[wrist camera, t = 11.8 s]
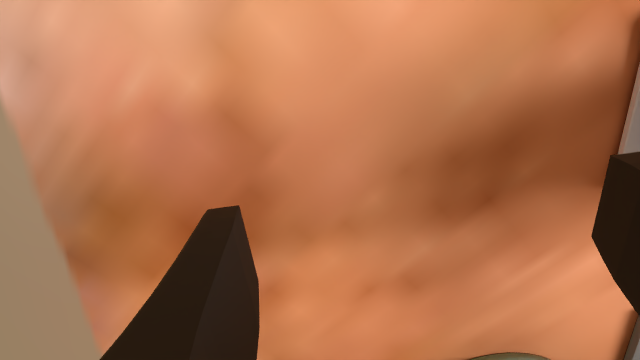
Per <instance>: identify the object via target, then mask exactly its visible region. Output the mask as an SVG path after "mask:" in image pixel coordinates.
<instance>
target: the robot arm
mask: <svg viewBox="0 0 640 360" xmlns="http://www.w3.org/2000/svg"><path fill="white" fill-rule="evenodd" d="M591 237H592V239H593V241H594V243H595V245H596V247H597V249H598V251H599V253H600V255H601V257H602V259H603V261H604V263H605V264H606V266H607V268H608V270H609V272H610V273H611V275H612V277H613V279H614V281H615V282H616V284H617V285H618V286H619V288H620V289H621V291H622V292H623V294H624V295H625V296H626V298H627V299H628V301H629V302H630V303H631V305H632V306H633V308H634V309H635V310H636V312H637V313H638V315H639V316H640V64H639V68H638V72H637V77H636V81H635V85H634V89H633V93H632V97H631V101H630V105H629V110H628V114H627V118H626V122H625V126H624V130H623V134H622V139H621V143H620V147H619V151H618V155H611V156H610V160H609V164H608V168H607V173H606V177H605V181H604V185H603V189H602V194H601V198H600V202H599V206H598V211H597V215H596V219H595V223H594V227H593V232H592V236H591ZM258 338H259V284H258V277H257V273H256V269H255V266H254V262H253V258H252V254H251V250H250V246H249V242H248V238H247V234H246V231H245V227H244V223H243V219H242V215H241V211H240V207H239V205H238V206H231V207H223V208H216V209H208V210H207V211H206V213H205V214H204V215H203V217H202V218H201V220H200V222H199V223H198V225H197V226H196V228H195V230H194V231H193V233H192V235H191V236H190V238H189V239H188V241H187V242H186V244H185V246H184V247H183V249H182V250H181V252H180V253H179V255H178V257H177V258H176V260H175V261H174V263H173V264H172V266H171V267H170V268H169V270H168V271H167V273H166V274H165V276H164V277H163V279H162V280H161V282H160V283H159V285H158V286H157V287H156V289H155V290H154V292H153V293H152V294H151V296H150V297H149V299H148V300H147V301H146V303H145V304H144V305H143V306H142V308H141V309H140V310H139V312H138V313H137V314H136V316H135V317H134V318H133V320H132V321H131V322H130V323H129V325H128V326H127V327H126V329H125V330H124V331H123V332H122V334H121V335H120V336H119V337H118V339H117V340H116V341H115V342H114V343H113V345H112V346H111V347H110V348H109V349H108V351H107V352H106V353H105V354H104V355H103V356H102V358H101V359H100V360H256V359H257V349H258Z"/></svg>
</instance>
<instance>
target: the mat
mask: <svg viewBox="0 0 640 360" xmlns="http://www.w3.org/2000/svg"><path fill="white" fill-rule="evenodd" d="M624 360H640V316H638V319H637V322H636V325H635V328H634V331H633V334H632V337H631V340H630V343H629V346H628V349H627V351H626V354H625V357H624Z"/></svg>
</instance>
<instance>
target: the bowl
mask: <svg viewBox="0 0 640 360" xmlns="http://www.w3.org/2000/svg"><path fill="white" fill-rule="evenodd" d="M471 360H550V359H548V358H545V357H542V356H538V355H533V354H525V353H501V354H493V355H487V356H482V357H478V358H474V359H471Z"/></svg>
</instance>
